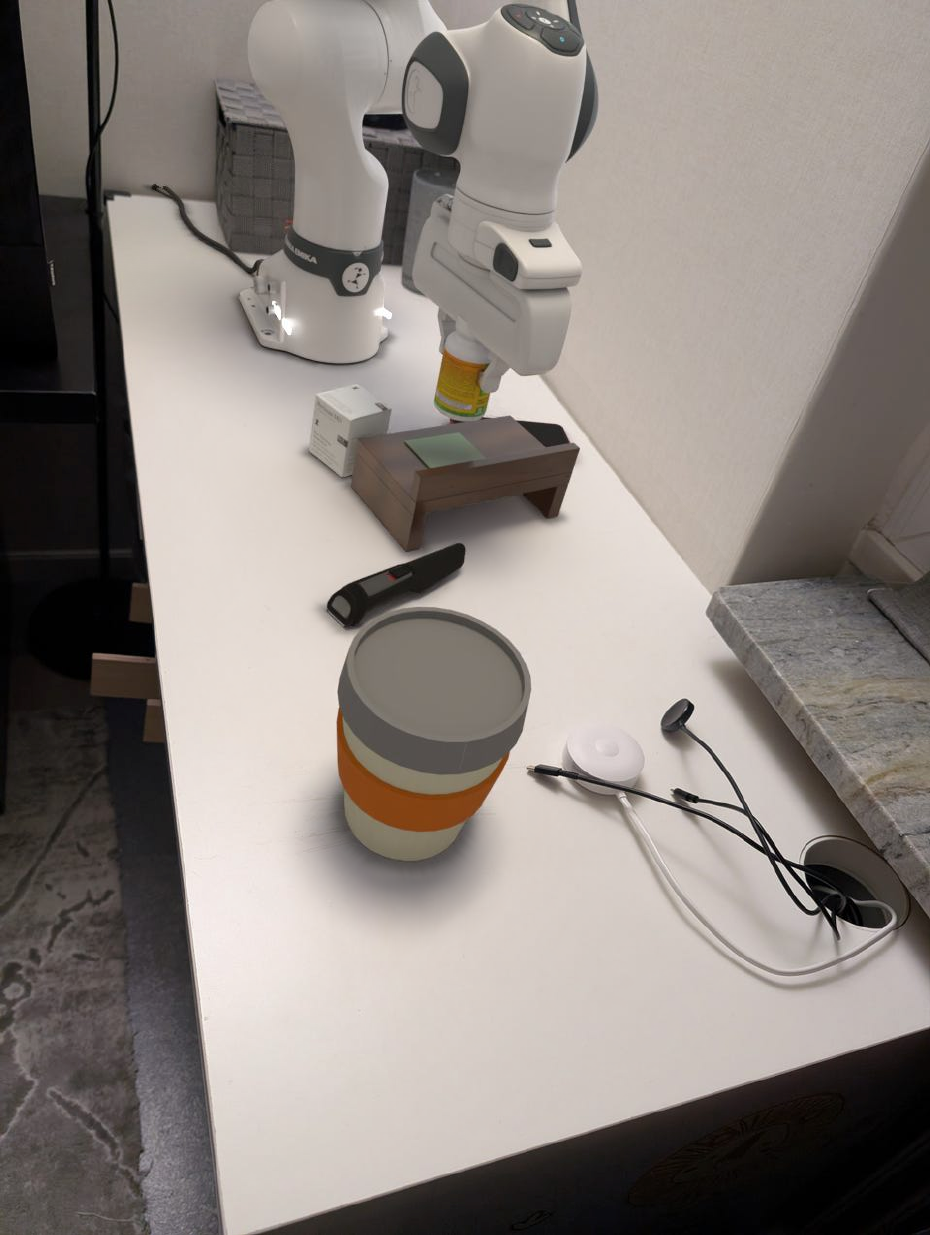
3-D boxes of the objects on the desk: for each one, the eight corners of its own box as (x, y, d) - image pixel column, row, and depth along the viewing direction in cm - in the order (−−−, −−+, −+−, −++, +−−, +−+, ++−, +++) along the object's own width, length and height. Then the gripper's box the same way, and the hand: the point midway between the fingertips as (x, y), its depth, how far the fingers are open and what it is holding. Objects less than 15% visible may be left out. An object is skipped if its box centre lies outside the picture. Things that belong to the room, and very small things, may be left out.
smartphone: (577, 455, 110) (459, 445, 106) (575, 461, 111) (458, 452, 106) (561, 424, 115) (449, 413, 111) (559, 430, 116) (447, 419, 112)
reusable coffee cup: (399, 719, 74) (431, 580, 64) (518, 814, 69) (572, 679, 59) (283, 803, 65) (299, 658, 56) (409, 918, 61) (451, 781, 51)
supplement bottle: (479, 428, 89) (501, 336, 82) (427, 414, 89) (445, 320, 82) (489, 405, 93) (511, 315, 86) (439, 391, 93) (457, 300, 87)
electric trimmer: (470, 578, 90) (477, 553, 88) (348, 632, 80) (353, 605, 78) (445, 557, 91) (451, 532, 89) (323, 607, 82) (326, 581, 80)
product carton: (307, 452, 100) (313, 393, 95) (349, 438, 104) (356, 381, 99) (342, 479, 98) (350, 420, 93) (383, 464, 101) (393, 407, 97)
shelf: (350, 486, 97) (361, 412, 91) (498, 459, 107) (516, 391, 102) (406, 551, 90) (421, 477, 85) (557, 516, 101) (580, 448, 95)
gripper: (409, 186, 83) (388, 326, 92) (537, 279, 72) (498, 429, 81) (465, 187, 87) (439, 322, 96) (595, 276, 75) (552, 421, 84)
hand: (467, 372), depth 88 cm, fingers closed on supplement bottle, 5 cm apart
